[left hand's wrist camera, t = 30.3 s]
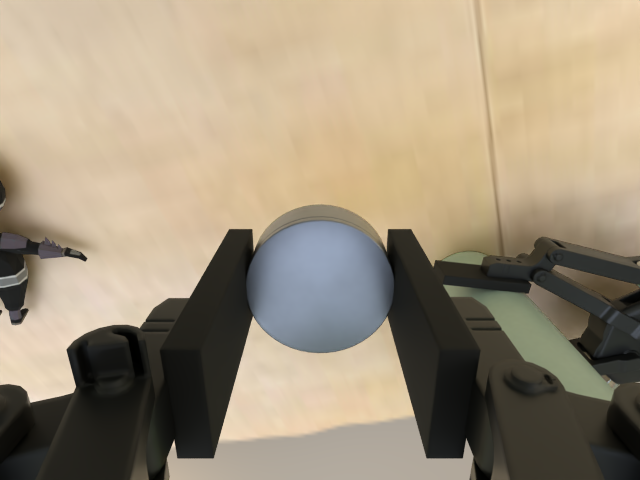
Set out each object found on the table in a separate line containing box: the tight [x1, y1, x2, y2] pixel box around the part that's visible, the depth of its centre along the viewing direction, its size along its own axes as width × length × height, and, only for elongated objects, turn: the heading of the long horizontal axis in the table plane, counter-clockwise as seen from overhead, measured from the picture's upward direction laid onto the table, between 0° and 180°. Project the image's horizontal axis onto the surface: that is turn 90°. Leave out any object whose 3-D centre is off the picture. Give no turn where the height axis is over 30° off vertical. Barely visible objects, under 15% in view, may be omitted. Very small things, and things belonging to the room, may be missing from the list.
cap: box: [246, 205, 394, 353], centre depth 14 cm, size 4×4×2 cm
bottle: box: [442, 251, 614, 401], centre depth 28 cm, size 7×7×24 cm
